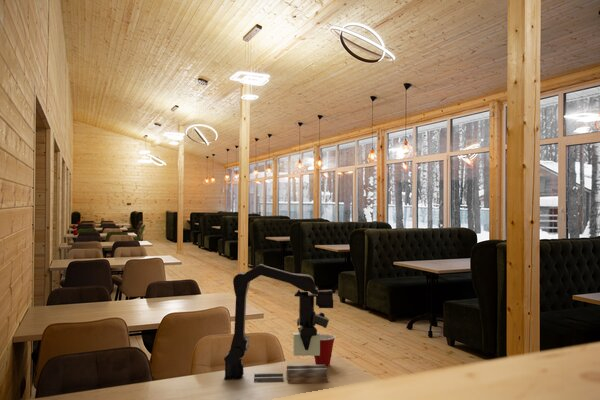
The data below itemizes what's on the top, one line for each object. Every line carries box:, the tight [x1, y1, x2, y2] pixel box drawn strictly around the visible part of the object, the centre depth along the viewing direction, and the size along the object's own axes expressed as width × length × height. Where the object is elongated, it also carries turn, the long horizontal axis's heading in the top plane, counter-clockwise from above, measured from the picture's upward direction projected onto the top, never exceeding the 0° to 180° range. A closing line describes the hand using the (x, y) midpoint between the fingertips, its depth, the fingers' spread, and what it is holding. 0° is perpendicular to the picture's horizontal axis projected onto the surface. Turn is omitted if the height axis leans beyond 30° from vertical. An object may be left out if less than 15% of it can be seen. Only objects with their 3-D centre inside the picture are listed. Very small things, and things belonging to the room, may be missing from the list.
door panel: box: [292, 332, 321, 357], centre depth 173 cm, size 10×2×8 cm, turn 94°
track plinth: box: [285, 364, 329, 384], centre depth 173 cm, size 15×10×4 cm, turn 94°
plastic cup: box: [313, 334, 336, 367], centre depth 188 cm, size 11×11×12 cm
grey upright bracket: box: [253, 372, 284, 383], centre depth 172 cm, size 11×5×1 cm, turn 94°
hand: (306, 349), depth 173 cm, fingers closed on door panel, 2 cm apart
